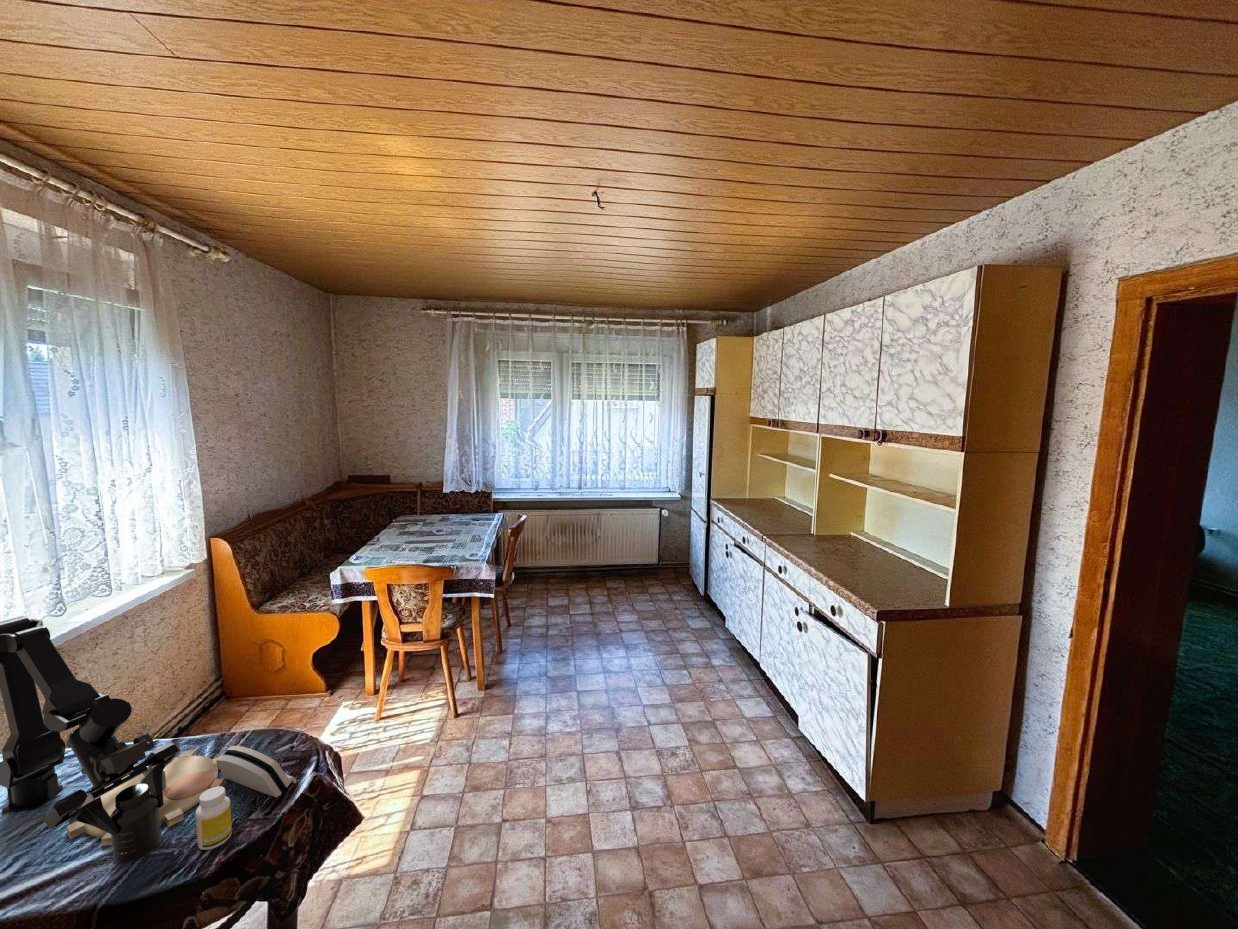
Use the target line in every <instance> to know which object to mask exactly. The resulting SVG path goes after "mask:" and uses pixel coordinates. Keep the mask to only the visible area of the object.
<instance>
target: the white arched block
mask: <svg viewBox="0 0 1238 929" xmlns="http://www.w3.org/2000/svg"><path fill="white" fill-rule="evenodd" d="M219 756H220V757H219ZM219 756H218V757H219V758H218V759H217V760H216V762H217V764H218V766H219V770H220V771H221V774H222V776H223V777H224V778H225V780H228V779H229V780H228V781H230V780H231V782H233V781H234V782H233V783H236V784H238V783H239V785H242V786H244V787H247V788H250V789H252V790H255V791H257V792H259V793H261V794H266V795H268V796H271V797H273V798H277V797H279V796H281V795H282V794H283V793H282V792H283V790H282V789H285V788H288V787H289V785H290V784H291V783H292V784H295V785H296V783H297V780H296V778H295V777H294V776H293V775H292V776H291V775H290V774H286V773H285V772H284V770H283V769H282V767H281V766H280V764H279V763H278V762H277V761H276V760H274V759H273V758H272V757H270V756H267V755H266V754H263V753H261V752H259V751H257V750H255V749H252V748H248V747H245V746H241V745H230V747H228V748H227V749H226V750H225V752H224V753H223V754H220V755H219Z"/></svg>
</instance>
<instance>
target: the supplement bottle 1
mask: <svg viewBox="0 0 1238 929" xmlns="http://www.w3.org/2000/svg"><path fill="white" fill-rule="evenodd" d="M115 808H116V809H115V810H114V811H113V812H112V814H111V816H110V817H111V819H112V820H113V822H114V823H115V824H116V826H117V829H118V831H119V833H118V834H117V835H115V836H114V835H112V834H111V838H112V845H111V846H112V851H113V852H112V854H113V860H114V861H115V862H117V863H122V864H125V863H131V862H132V863H133V862H134V861H137V860H139V859H142V858H144V857H145V856H148V855H149V854H150V853H151V852H153V851H154V850H155V849H156V848H157V847H158V846H159V844H160V843H161V841H162V824H161V823H160V813H159V804H158V799H157V798H156V797H155V796H153V795H151V791H150V787H149V785H148V784H147V783H140V784H135V785H132V786H130V787H128V788H126V789H124V790H122V791H121V792H120V793H118V795H117V796H116V798H115Z"/></svg>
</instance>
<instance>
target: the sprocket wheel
mask: <svg viewBox="0 0 1238 929" xmlns="http://www.w3.org/2000/svg"><path fill="white" fill-rule="evenodd" d="M219 757H220V755H219V756H217V757H215V758H209V757H207V756H202V755H197V750H196V749H194V750H185V751H183V752H182V753H181V754H180V755H178V756H176V757H175V758H174V760H173V761H172V762H171V763H170V764H168V765H167V766H166V767H165V768H164V770H163V774H162V789H163V802H164V805H163V806H162V807H161V808H159V813H160V823H161V825H163V824H164V823H165V825H166V826H168V827H169V828H170V827H171V826H172V827H173V825H175V824H177V823H179V822H181V821H183V820H184V813H186V812H187V811H189V810H191V809H192V808H193V807H195V806H196V805H198V804H199V797H200V795H201V794H202V793H203V792H205V791H206V790H208V789H210V788H213V787H217V786H222V787H223V786H224V787H225V785H226V779H225V778H219V769H220V768H219V766H218V764H217V762H216V760H217V759H218V758H219ZM141 763H142V762H140V763H137V764H135V765H134V767H135V766H137V765H139V764H141ZM218 768H219V769H218ZM128 776H129V775H128ZM125 777H127V776H125ZM125 777H124V778H125ZM144 778H145V777H144V775H143V774H140V775H138V776H136V777H135V778H133V779H131V780H129V781H127V782H125V783H124V784H122V785H120V786H118V787H116V788H114V789H113V790H111V791H109V792H107V793H105V794H103V795H102V796H100V797H101V800H102V805H103V807H104V809H105V810H106V812H107V813H108V815H109V816H111V814H112V812H113V811H114V810H115V809H116V808H115V798H116V796H117V795H118V793H120V792H121V791H122V790H124V789H126V788H128V787H130V786H132V785H135V784H140V783H141V782H142V780H143V779H144ZM122 779H123V778H122ZM111 785H112V784H111ZM109 786H110V785H109ZM109 786H107V787H109ZM107 787H105V788H107ZM98 798H99V797H98ZM96 799H97V798H96ZM66 832H67V835H68V837H69V839H70V840H71V839H73V838H76V837H78V836H79V835H82V834H84V833H86V834H88V835H90V836H92V837H97V838H101V839H100V840H101V847H107V846H112V838H111V834H109V833H107V832H105V831H103V830H101V829H99V828H96V827H94V826H92V825H88V824H85V823H82V822H78V821H75V822H74V823H72V824H70V823H69V824H68V825H66Z"/></svg>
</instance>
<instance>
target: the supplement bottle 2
mask: <svg viewBox="0 0 1238 929" xmlns="http://www.w3.org/2000/svg"><path fill="white" fill-rule="evenodd" d="M198 804H199V806H198V807H197V808H196V810H195V825H196V828H195V829H196V841H197V842H196V843H197V847H198V849H200V850H204V851H207V850H212V849H216V848H217V847H220V846H221V845H222V844H225V843H226V842H227V841H228V839H230V837H231V836H232V834H233V833H232V832H233V825H232V809H231V808H232V807H231V804H232V803H231V799H230V797H229V796H226V788H225V786H224V787H222V786H217V787H213V788H210V789H208V790H206V791H205V792H203V793H202V794H201V795H200V797H199V802H198Z"/></svg>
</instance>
